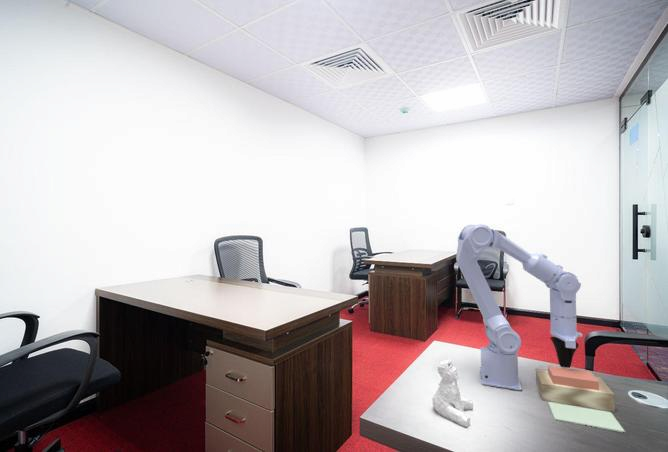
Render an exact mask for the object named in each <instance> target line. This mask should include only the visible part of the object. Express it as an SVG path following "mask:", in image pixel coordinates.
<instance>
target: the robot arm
mask: <svg viewBox="0 0 668 452" xmlns="http://www.w3.org/2000/svg"><path fill="white" fill-rule="evenodd" d="M488 247H489V248H490V247H491V248H495V249H498V250H500V251H501V252H503V253H505V254H506V255H508V256H509V257H511V258H513V259H514V260H516V261H518V262H520V263H521V264H522V267H523V268H522V269H523V270H524V271H525V272H526V273H528V274H530V275H531V276H533V277H535V278H536V279H537V280H539V281H540V282H542V283H544V285H545V286H546V287H547V288H548V289H549V307H550V309H549V311H550V313H549V314H550V318H549V319H550V330H549V333H550V335H552V336H549V338H550V341H551V342H552V344H553V347H554V350H555V352H556V357H557V360H558V364H559V366H560V368H568V369H571V366H572V363H573V362H572V361H573V357H574V354H575V352H576V351H577V349H578V348H579V343H578V342H577V340H578V338H583V333H582V332H580V331H579V332H578V330H577V323H578V322H577V293H578V292H579V291H580V289H581V285H582V283H581V282H580V281H579V279H578V276H576V274H574V273H572V272H570V271H564V266H562V265H560V264H555V263H554V262H552V261H551V260H550V259H548V256H547V255H545V254H544V253H538V252H537V253H529V252H528V251H527V250H525V249H524V248H522V247H521V246H519V245H518V244H516V243H515V242H514V241H512V240H511V239H509V238H508V237H506V236H505V235H504V234H502V233H500V231H498V230H496V229H493V228H491V227H489V226H488V225H486V224H482V223H479V224H476V225H475V224H468V225H466V226H464V227H463V228H462V229H461V232H460V233H459V234H458V236H457V249H456V257H455V260H456V263H457V265H458V267H459V269H460V271H461V274H462V276H463V278H464V281H466V284H467V286H468V288H469V290H470V293H471V295H472V296H473V299H474V302H475V303H476V306H477V307H478V309H479V312H480V313H481V315H482V318H483V319H482V322H483V324H484V328H485V329H484V333H485V336H486V338H487V339H488V340H489V342H488V345H487V346H481V347H480V366H479V375H481V377H480V379H481V384H482V385H484V386H491V387H496V388H497V387H498V388H504V389H508V390H509V389H510V390H516V391H522V390H523V388H522V384H521V380H520V378H519V365H518V364H519V361H518V360H519V359H518V357H519V356H518V353H519V350H520V348H521V346H522V340H521V336H520V335H519V334H518V333H517V332H516V331H515V330H514V329H513V328H512V327H511V324H510V322H508V320H507V319H506V317H505V316H504V315H503V313H502V310H501V309H500V306H499V304H498V302H497V300H496V299H495V296H494V294H493V292H492V290H491V287H490V286H489V284H488V281H487V280H486V277H485V274H484V272H483V271H482V268H481V267H480V265H479V262H478V261H479V259H480V256H481V255H482V252H484V250H485V249H487V248H488Z"/></svg>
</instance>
